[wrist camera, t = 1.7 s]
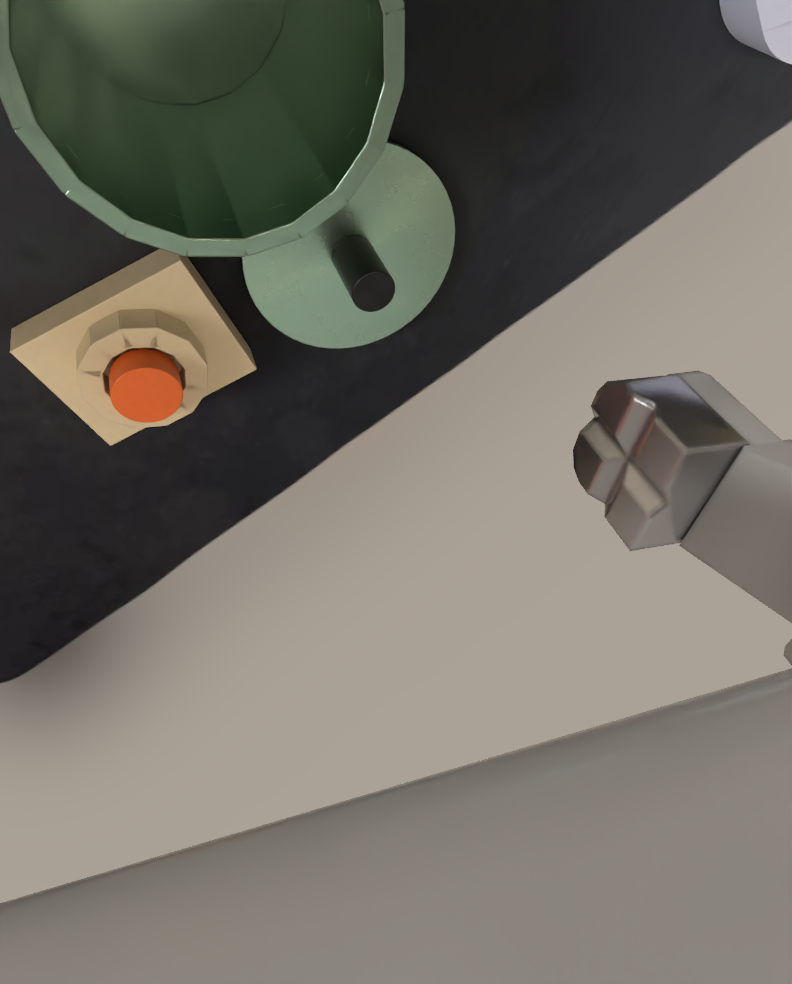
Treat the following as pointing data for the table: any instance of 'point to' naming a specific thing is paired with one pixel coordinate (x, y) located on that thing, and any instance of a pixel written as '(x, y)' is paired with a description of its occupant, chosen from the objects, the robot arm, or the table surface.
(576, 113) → the table surface
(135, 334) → the switch base
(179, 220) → the dark green cylinder
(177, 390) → the power button
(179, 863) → the robot arm
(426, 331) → the table surface
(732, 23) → the wedge on round base
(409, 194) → the kettle lid
